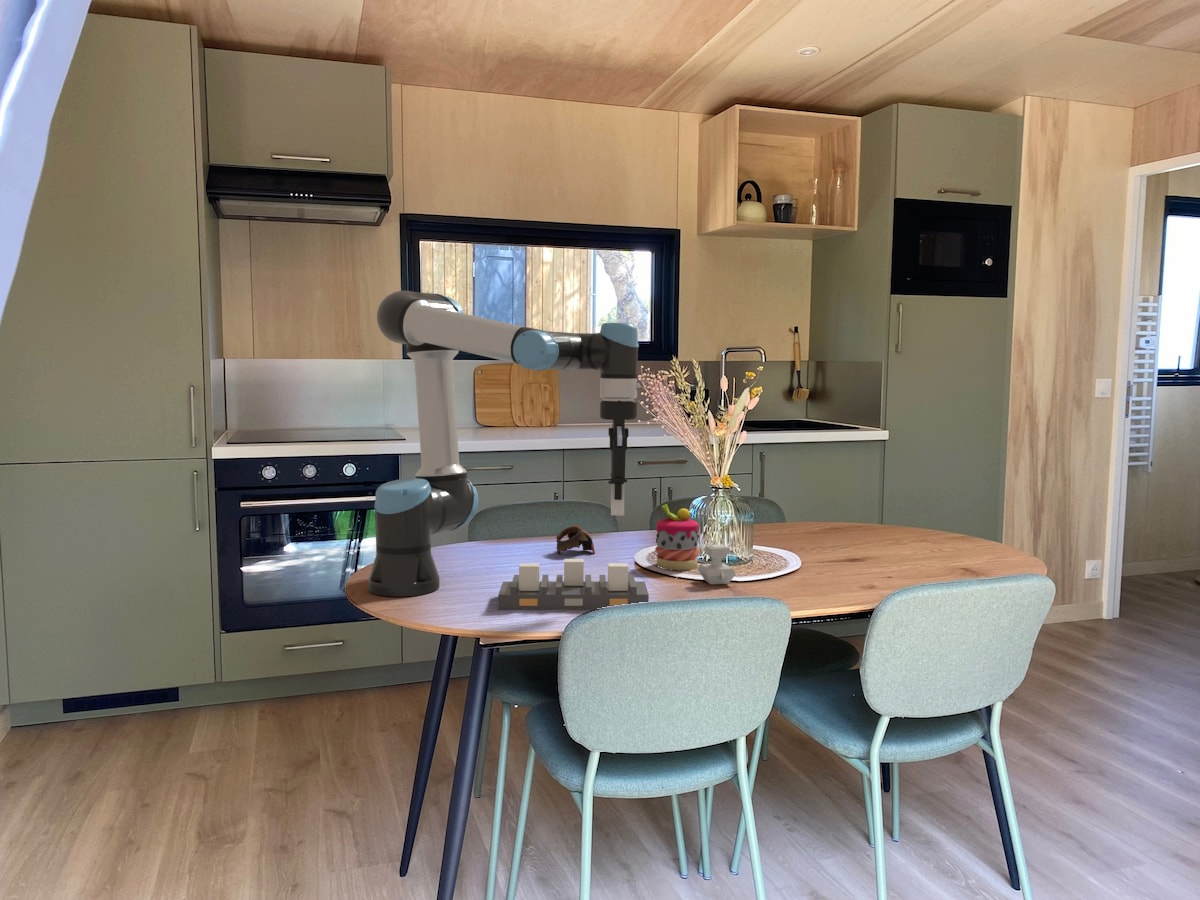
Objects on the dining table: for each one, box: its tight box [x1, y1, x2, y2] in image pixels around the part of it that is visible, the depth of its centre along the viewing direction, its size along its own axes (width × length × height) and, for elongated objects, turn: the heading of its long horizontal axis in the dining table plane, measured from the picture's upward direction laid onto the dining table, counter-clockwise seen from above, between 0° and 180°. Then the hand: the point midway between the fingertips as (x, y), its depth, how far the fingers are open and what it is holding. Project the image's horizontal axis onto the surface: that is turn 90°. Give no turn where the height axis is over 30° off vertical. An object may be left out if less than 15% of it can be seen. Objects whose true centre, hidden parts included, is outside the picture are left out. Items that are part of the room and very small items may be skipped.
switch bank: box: [497, 574, 650, 610], centre depth 183 cm, size 30×11×4 cm, turn 91°
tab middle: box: [563, 558, 585, 586], centre depth 185 cm, size 4×3×5 cm
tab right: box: [607, 562, 629, 591], centre depth 182 cm, size 4×3×5 cm
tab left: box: [518, 562, 541, 591], centre depth 181 cm, size 4×3×5 cm
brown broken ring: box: [556, 525, 596, 555], centre depth 232 cm, size 12×10×8 cm
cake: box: [655, 503, 700, 571], centre depth 217 cm, size 10×11×15 cm
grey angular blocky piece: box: [697, 544, 736, 586], centre depth 200 cm, size 9×7×8 cm
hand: (617, 514), depth 183 cm, fingers closed
